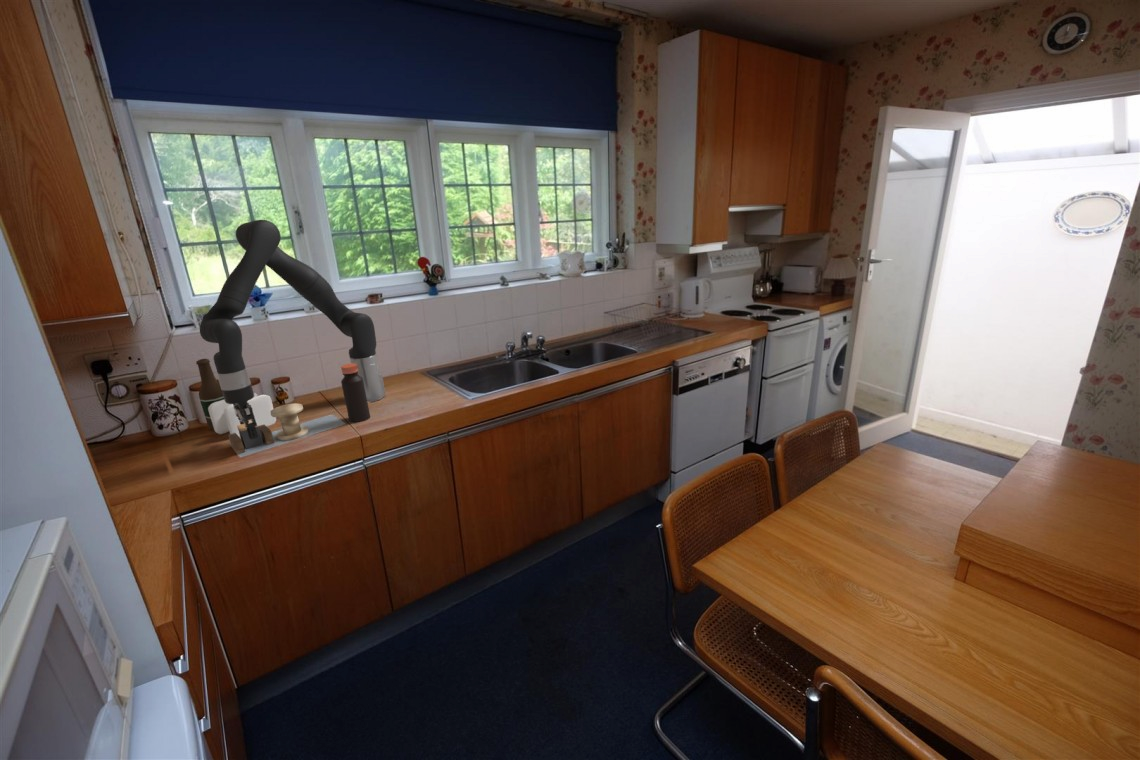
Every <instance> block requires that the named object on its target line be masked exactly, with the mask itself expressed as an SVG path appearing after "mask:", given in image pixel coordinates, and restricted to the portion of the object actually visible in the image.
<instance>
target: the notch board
mask: <svg viewBox="0 0 1140 760" xmlns="http://www.w3.org/2000/svg"><path fill="white" fill-rule="evenodd" d="M258 429H259V433H260V436H261V439H262V440H263V441H264V442H265V443H266V444H267V445H269V444H273V443H274V439H273V436H272V432H273V431H272V430H271V429H270V428H269V427H268V426H267V427H266V426H265V425H260V426H258ZM227 436H228V440H229V443H230V444H229V445H230V447H231V448H232V450H233V451H234V452H235V453H236V455H237V454H241V453H244V452H245V450H244V446H243V443H242V440H241V437H239V436H238V435H237V434H236V433H232V434H230V433H229V434H227Z"/></svg>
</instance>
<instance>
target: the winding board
mask: <svg viewBox="0 0 1140 760" xmlns="http://www.w3.org/2000/svg"><path fill="white" fill-rule="evenodd" d="M345 425H347V423H345V422H344V421H343V420H341V419H340V418H339V417H337V416H336V415H334V414H329V415H325V416H320V417H318V418H315V419H314V418H313V419H311V420H308V421H304V422H301V423H300V426H306V427H308V430H309V432H308V434H307V435H305V436H303V437H301V438H298V439H295V440H290V441H280V440H278V439H277V434H278V433H279V432H280V431H282V430H283V429H282V428H281V429H278V430H275V431H271V432H272V436H273V439H274V443H273V444H269V445H267V444H266V443H265V442H264V441H263V440H262V439H261V440H262V443H263V445H259V446H256V447H253V448H249V449H245V447H244V450H245V452H244V453H241V454H237V453H236V455H237V456H238V457H239V459H240V458H243V457H247V456H250V455H254V454H256V453H260V452H263V451H267V450H268V449H272V448H275V447H278V446H281V445H284V444H287V443H292V442H294V441H297V440H300V439H304V438H306V437H310V436H313V435H316V434H319V433H323V432H326V431H329V430H332V429H335V428H339V427H342V426H345Z"/></svg>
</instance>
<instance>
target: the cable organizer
mask: <svg viewBox="0 0 1140 760" xmlns="http://www.w3.org/2000/svg"><path fill="white" fill-rule="evenodd" d="M247 403H249V405H251V407H252V411H253V414H254V417H255V421H256V423H257V426H260V425H265V426H266V427H267V428H268V427H269V426H272V425H274V424H275V423H276V422H277V417H272V416H271V413H270V412H271V410H273V409H274V408H275V407H274V406H273V405H274V404H273V401H272V398H271V396H270V395H268V394H260V395H258V394H257V393H256V392H254V397H253V398H252V399H251V400H248V401H247ZM208 411H209V414H210V417H211V420H212V424H213V427H214V430H213V431H214V432H215V433H216V434H218V435H222V434H226V433H229V434H232V433H236V434H237V435H238V436H239V438H241V437H240V434H239V430H238V427H237V426H238V425H241V424H240V421H241V420H238V417H237V416H236V414H235V410H234V406H233V404H228V403H226V402H225V400H221V401H218V402H214V403H212V404H211V405H210V406H209V407H208ZM249 422H252V421H251V420H249Z"/></svg>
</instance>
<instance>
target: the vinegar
mask: <svg viewBox="0 0 1140 760" xmlns="http://www.w3.org/2000/svg"><path fill="white" fill-rule="evenodd" d="M340 368H341V373H342V375H343V378H342V379H341V381H340V383H341V388H342V389H341V390H342V392H343V398H344V401H345V406H346V411H347V415H348V420H349V422H350V423H355V424H357V423H362V422H366V421H368V420H369V419H371V413H370V407H369V404H368V402H369V401H367V397H366V392H365V387H364V382H363V378H362V377H361V376H359V375H358V367H357V364H354V363H351V362H350V363H347V364H346V363H345V364H343V365H341V366H340Z"/></svg>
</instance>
